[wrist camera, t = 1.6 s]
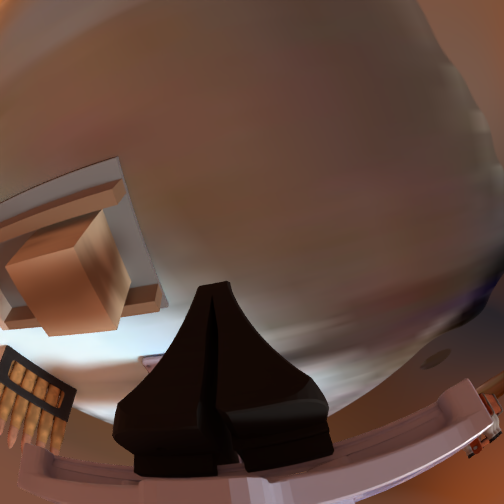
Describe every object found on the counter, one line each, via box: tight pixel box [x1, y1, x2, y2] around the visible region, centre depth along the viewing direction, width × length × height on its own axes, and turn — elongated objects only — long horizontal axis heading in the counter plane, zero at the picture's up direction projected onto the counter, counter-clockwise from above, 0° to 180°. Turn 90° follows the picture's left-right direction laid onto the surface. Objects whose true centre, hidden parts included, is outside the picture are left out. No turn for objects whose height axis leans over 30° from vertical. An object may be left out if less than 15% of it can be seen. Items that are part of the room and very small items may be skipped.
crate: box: [5, 209, 131, 337], centre depth 16 cm, size 6×6×5 cm
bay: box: [0, 156, 168, 330], centre depth 17 cm, size 12×18×2 cm, turn 98°
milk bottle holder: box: [462, 393, 503, 458], centre depth 63 cm, size 21×35×19 cm, turn 56°
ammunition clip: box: [0, 346, 77, 456], centre depth 20 cm, size 11×2×12 cm, turn 42°
